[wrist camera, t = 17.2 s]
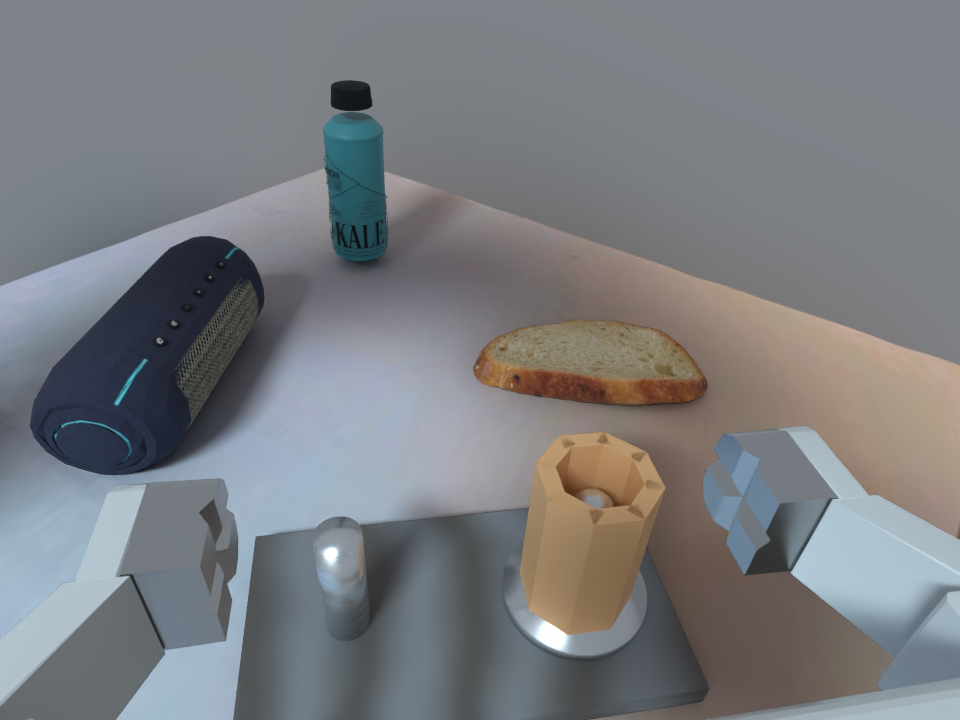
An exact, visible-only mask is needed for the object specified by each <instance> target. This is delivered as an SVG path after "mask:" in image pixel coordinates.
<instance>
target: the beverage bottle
mask: <svg viewBox="0 0 960 720" xmlns="http://www.w3.org/2000/svg"><path fill="white" fill-rule="evenodd" d="M331 106H332V107H333V108H335V109H339V110H344V111H360V110H365V109H368V108H370V107H372V98H371V93H370V86H369V85H368V84H367V83H365V82H361V81H351V80H349V81H348V80H347V81H339V82H335V83H333V84H332V85H331ZM323 134H324V142H325V157H326V160H325V161H326V168H325V172H326V169H327V172H326V174H327V180H328V184H327V183H326V185H328V190H329V201H330V203H329V204H330V206H329V207H330V209H329V210H330V212H331V213H330V212H329V217H330V214H331V217H330V218H331V223H332V234H333V236H332V234H331V237H333V239H332V240H333V241H332V242H333V243H332V244H333V245H334V249H335V252H336V254H337V255H338V256H340V257H341V258H344V259H347V260H352V261H367V260H372V259H376V258H378V257H380V256H382V255H383V254H384V253H385V251H386V248H387V246H388V245H387V235H388V231H387V229H388V228H387V227H386V214H387V213H386V210H387V206H386V199H387V198H386V199H385V185H384V157H383V128H382V126H381V125H380V124H379V123H378V122H377V121H376V120H375V119H373V118H372V117H371V116H369V115H367V114H364V113H356V112H347V113H340V114H337V115H335V116H333V117H332V118H331V119H330V120H329V121H328V122H327V123H326V124H325V125H324V127H323ZM386 197H387V196H386ZM329 204H328V205H329ZM387 218H388V217H387ZM387 223H388V222H387ZM387 226H388V224H387ZM330 228H331V227H330ZM386 228H387V229H386Z"/></svg>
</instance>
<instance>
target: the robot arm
mask: <svg viewBox="0 0 960 720" xmlns="http://www.w3.org/2000/svg"><path fill="white" fill-rule="evenodd" d="M714 451H715V452H716V454H717V456H718V458H719V459H717V460H716V461H715V462H714V463H713V464H712V465H710V466H709V467H708V468H707V471H706V474H705V477H704V480H703V495H704V500H705V503H706V507H707V509H708V511H709V513H710V515H711V517H712V519H713V521H714V522H716V523H717V524H719V525H720V526H722V527H723V528H725V529H726V530H728V534H727V539H726V544H727V546H728V547H729V549H730V551H731V553H732V554H733V556H734V558H735V560H736V561H737V563H738V565H739V567H740V568H741V570H742V572H743V574H744V575H753V574H764V573H774V572H784V571H792V572H791V574H792V575H793V576H795V577H796V578H797V579H798V580H800V581H801V582H802V583H803V584H804V585H806V586H807V587H808V588H809V589H811V590H812V591H813V592H814V593H816V594H817V595H818V596H819V597H821V598H822V599H823V600H824V601H825V602H827V603H828V604H829V605H830V606H832V607H833V608H834V609H835V610H837V611H838V612H839V613H840V614H841V615H843V616H844V617H845V618H846V619H848V620H849V621H850V622H851V623H853V624H854V625H855V626H856V627H857V628H859V629H860V630H861V631H862V632H864V633H865V634H866V635H867V636H869V637H870V638H871V639H872V640H873V641H875V642H876V643H877V644H878V645H880V646H881V647H882V648H883V649H885V650H886V651H887V652H888V653H889V654H891V655H892V656H893V657H894V658H893V659H892V660H891V661H890V663H889V664H888V665H887V666H886V667H885V669H884V670H883V671H882V672H881V674H880V675H879V678H878V681H877V684H878V686H879V687H880V689H881V690H882V691H876V692H870V693H863V694H857V695H851V696H845V697H839V698H833V699H827V700H821V701H814V702H808V703H802V704H796V705H790V706H784V707H778V708H772V709H765V710H759V711H753V712H747V713H741V714H735V715H729V716H723V717H716V718H710V719H704V720H960V540H958V539H957V538H955V537H953V536H951V535H950V534H948V533H946V532H944V531H942V530H940V529H939V528H937V527H935V526H933V525H931V524H929V523H928V522H926V521H924V520H922V519H920V518H918V517H917V516H915V515H913V514H911V513H909V512H907V511H906V510H904V509H902V508H900V507H898V506H897V505H895V504H893V503H891V502H889V501H887V500H886V499H884V498H882V497H880V496H878V495H868V494H867V493H866V491H865V490H864V489H863V488H862V487H861V485H860V484H859V483H858V482H857V481H856V479H855V478H854V477H853V476H852V475H851V473H850V472H849V471H848V470H847V469H846V467H845V466H844V465H843V464H842V463H841V461H840V460H839V459H838V458H837V457H836V455H835V454H834V453H833V452H832V451H831V449H830V448H829V447H828V446H827V445H826V443H825V442H824V441H823V440H822V439H821V437H820V436H819V435H818V434H817V433H816V431H814V430H813V429H811V428H809V427H808V426H799V427H788V428H779V429H766V430H756V431H746V432H736V433H726V434H724V435H722V436H721V437H720V438H719V439H718V441H717V444H716V446H715V449H714ZM227 500H228V492H227V488H226V485H225V482H224V480H223V479H220V478H218V479H202V480H186V481H171V482H155V483H148V484H133V485H118V486H114V487H113V488H112V489H111V490H110V492H109V493H108V494H107V495H106V498H105V501H104V503H103V506H102V509H101V512H100V514H99V517H98V520H97V522H96V525H95V528H94V531H93V533H92V536H91V539H90V541H89V544H88V547H87V550H86V552H85V555H84V558H83V560H82V563H81V566H80V569H79V571H78V574H77V577H76V579H75V582H67V583H63V584H62V585H60V586H59V587H58V588H57V589H56V590H55V591H54V592H53V593H52V594H50V595H49V596H48V597H47V598H46V599H45V600H44V601H43V602H41V603H40V604H39V605H38V606H37V607H36V608H35V609H34V610H33V611H31V612H30V613H29V614H28V615H27V616H26V617H25V618H24V619H22V620H21V621H20V622H19V623H18V624H17V625H16V626H15V627H14V628H12V629H11V630H10V631H9V632H8V633H7V634H6V635H5V636H3V637H2V638H1V639H0V720H116V719H117V718H118V716H119V715H120V714H121V712H122V711H123V709H124V708H125V707H126V705H127V704H128V703H129V701H130V700H131V699H132V697H133V696H134V695H135V693H136V692H137V691H138V689H139V688H140V687H141V685H142V684H143V683H144V681H145V680H146V679H147V677H148V676H149V675H150V673H151V672H152V671H153V669H154V668H155V667H156V665H157V664H158V663H159V661H160V660H161V659H162V657H163V656H164V655H165V652H164V650H169V649H176V648H182V647H189V646H195V645H202V644H209V643H215V642H222V641H226V637H227V630H228V623H229V617H230V610H231V604H232V599H231V595H230V592H229V588H228V585H227V583H228V582H229V581H230V580H231V579H232V578H233V577H234V576H235V574H236V568H237V561H238V533H237V525H236V521H235V517H234V514H233V513H232V512H230V511H229V510H227V509H226V506H227Z"/></svg>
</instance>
